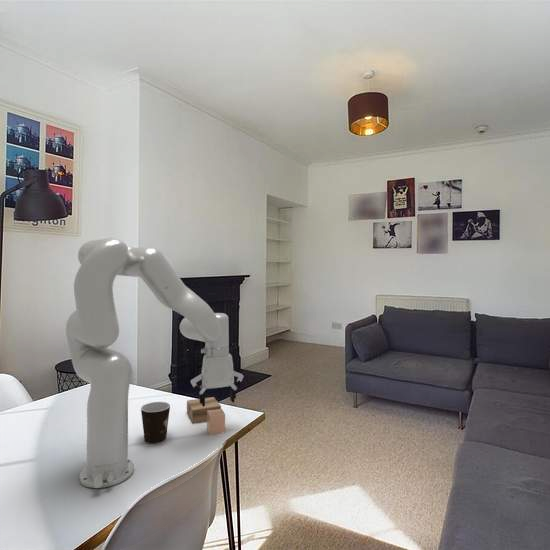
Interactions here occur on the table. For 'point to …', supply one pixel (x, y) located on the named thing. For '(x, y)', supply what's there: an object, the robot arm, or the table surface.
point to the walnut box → (201, 409)
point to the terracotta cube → (215, 421)
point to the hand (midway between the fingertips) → (217, 402)
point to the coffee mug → (155, 421)
